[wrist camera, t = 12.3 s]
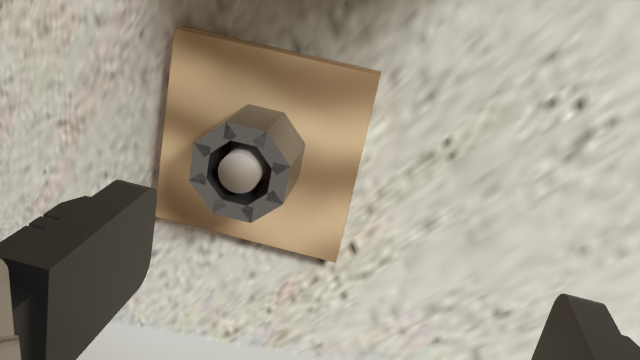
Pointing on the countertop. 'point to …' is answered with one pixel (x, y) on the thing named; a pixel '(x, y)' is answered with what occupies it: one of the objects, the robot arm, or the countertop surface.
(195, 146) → the ring
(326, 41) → the countertop surface
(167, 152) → the shaft stand
